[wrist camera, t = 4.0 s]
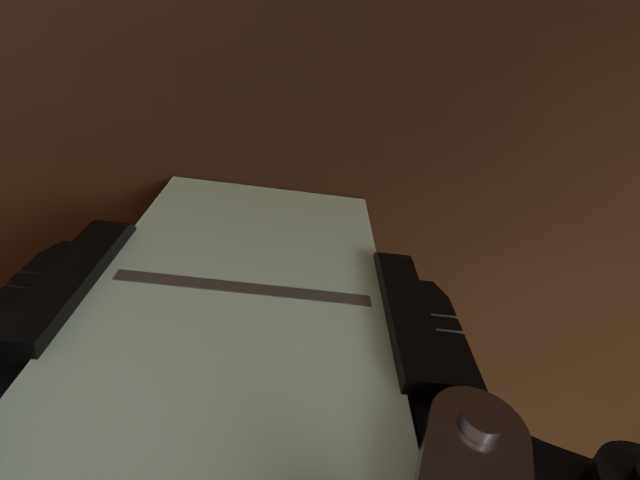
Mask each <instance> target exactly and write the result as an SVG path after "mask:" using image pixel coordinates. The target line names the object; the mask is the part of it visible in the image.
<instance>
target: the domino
mask: <svg viewBox="0 0 640 480" xmlns="http://www.w3.org/2000/svg"><path fill="white" fill-rule="evenodd" d="M135 227H136V231H135V232H134V233H133V235H132V236H131V237H130V239H129V240H128V241H127V242H126V244H125V245H124V246H123V248H122V249H121V250H120V252H119V253H118V254H117V256H116V257H115V258H114V260H113V261H112V262H111V264H110V265H109V266H108V268H107V269H106V270H105V272H104V273H103V274H102V275H101V277H100V278H99V279H98V281H97V282H96V283H95V285H94V286H93V287H92V289H91V290H90V291H89V293H88V294H87V295H86V297H85V298H84V299H83V301H82V302H81V303H80V305H79V306H78V307H77V309H76V310H75V311H74V312H73V314H72V315H71V316H70V318H69V319H68V320H67V322H66V323H65V324H64V326H63V327H62V328H61V330H60V331H59V332H58V334H57V335H56V336H55V338H54V339H53V340H52V342H51V343H50V344H49V345H48V347H47V348H46V349H45V351H44V352H43V353H42V355H41V356H40V357H39V359H38V360H34V359H31V360H30V361H29V362H28V364H27V365H26V366H25V367H24V369H23V370H22V371H21V373H20V374H19V375H18V376H17V378H16V379H15V380H14V382H13V383H12V384H11V385H10V387H9V388H8V389H7V391H6V392H5V393H4V394H3V396H2V397H1V398H0V480H414V475H415V470H416V464H417V459H418V454H419V449H418V444H417V439H416V435H415V430H414V425H413V421H412V416H411V411H410V407H409V402H408V397H407V395H403V394H401V392H400V387H399V382H398V377H397V372H396V367H395V362H394V357H393V352H392V347H391V342H390V337H389V332H388V327H387V322H386V317H385V312H384V307H383V302H382V297H381V292H380V287H379V282H378V277H377V272H376V267H375V262H374V257H373V255H374V253H375V252H376V249H375V244H374V239H373V235H372V230H371V225H370V221H369V216H368V211H367V207H366V202H365V199H359V198H350V197H342V196H334V195H325V194H317V193H308V192H300V191H292V190H283V189H275V188H267V187H258V186H250V185H241V184H233V183H225V182H216V181H208V180H200V179H191V178H183V177H174V176H173V177H172V178H171V180H170V181H169V182H168V184H167V185H166V186H165V187H164V189H163V190H162V191H161V193H160V194H159V195H158V196H157V198H156V199H155V200H154V202H153V203H152V204H151V205H150V207H149V208H148V209H147V211H146V212H145V213H144V214H143V216H142V217H141V218H140V220H139V221H138V222H137V223H136V225H135Z"/></svg>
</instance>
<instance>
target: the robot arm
mask: <svg viewBox="0 0 640 480" xmlns="http://www.w3.org/2000/svg"><path fill="white" fill-rule="evenodd" d="M135 231H136V227H135V225H134V224H128V223H119V222H110V221H102V220H94V221H92V222H91V223H90V224H89V225H88V226H87V227H86V228H85V229H84V230H83V231H82V232H81V233H80V234H79V235H78V236H77V237H76V238H75V239H74V240H73V241H72V242H70V241H62V242H60V243H58V244H56V245H54V246H52V247H50V248H48V249H46V250H44V251H42V252H40V253H38V254H37V255H36V256H35V257H34V258H33V259H32V260H31V261H30V262H29V263H28V264H27V265H25V266H24V267H23V268H22V269H21V273H17V274H16V275H15V276H14V277H13V278H12V279H11V280H10V281H9V282H8V283H7V286H6V287H2V288H1V289H0V398H1V397H2V396H3V394H4V393H5V392H6V391H7V389H8V388H9V387H10V385H11V384H12V383H13V382H14V380H15V379H16V378H17V376H18V375H19V374H20V373H21V371H22V370H23V369H24V367H25V366H26V365H27V364H28V362H29V361H30V360H31V359H34V360H38V359H39V357H40V356H41V355H42V353H43V352H44V351H45V349H46V348H47V347H48V345H49V344H50V343H51V342H52V340H53V339H54V338H55V336H56V335H57V334H58V332H59V331H60V330H61V328H62V327H63V326H64V324H65V323H66V322H67V320H68V319H69V318H70V316H71V315H72V314H73V312H74V311H75V310H76V309H77V307H78V306H79V305H80V303H81V302H82V301H83V299H84V298H85V297H86V295H87V294H88V293H89V291H90V290H91V289H92V287H93V286H94V285H95V283H96V282H97V281H98V279H99V278H100V277H101V275H102V274H103V273H104V272H105V270H106V269H107V268H108V266H109V265H110V264H111V262H112V261H113V260H114V258H115V257H116V256H117V254H118V253H119V252H120V250H121V249H122V248H123V246H124V245H125V244H126V242H127V241H128V240H129V239H130V237H131V236H132V235H133V233H134V232H135ZM373 257H374V262H375V267H376V272H377V277H378V282H379V287H380V292H381V297H382V302H383V307H384V312H385V317H386V322H387V327H388V332H389V337H390V342H391V347H392V352H393V357H394V362H395V367H396V372H397V377H398V382H399V387H400V392H401V394H403V395H407V397H408V402H409V407H410V411H411V416H412V421H413V425H414V430H415V435H416V439H417V444H418V449H419V454H418V459H417V464H416V470H415V475H414V480H640V444H637V443H633V442H629V441H621V440H620V441H611V442H608V443H606V444H604V445H602V446H601V448H600V449H599V450H598V451H597V453H596V454H595V456H594V457H593V459H591V458H588V457H585V456H582V455H579V454H577V453H574V452H571V451H568V450H566V449H563V448H560V447H557V446H555V445H552V444H549V443H546V442H544V441H542V440H539V439H537V438H535V437H533V436H531V435H530V432H529V430H528V428H527V426H526V424H525V422H524V421H523V420H522V418H521V417H520V416H519V414H518V413H517V412H516V411H515V410H514V409H513V408H512V407H511V406H509V405H508V404H507V403H506V402H505V401H503V400H502V399H500V398H499V397H497V396H495V395H493V394H491V393H489V392H488V391H487V388H486V386H485V383H484V381H483V379H482V376H481V374H480V371H479V369H478V367H477V364H476V362H475V359H474V357H473V354H472V352H471V350H470V347H469V345H468V342H467V340H466V338H465V335H464V334H462V331H463V330H462V328H461V326H460V323H459V321H458V319H456V313H455V311H454V309H453V306H452V304H451V301H450V299H449V297H448V296H447V295H446V294H445V293H444V292H443V291H442V290H441V289H440V288H439V287H438V286H437V285H436V284H435V283H434V282H431V281H422V280H419V278H418V275H417V272H416V269H415V266H414V263H413V260H412V258H411V256H407V255H399V254H390V253H381V252H375V253H374V255H373Z"/></svg>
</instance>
